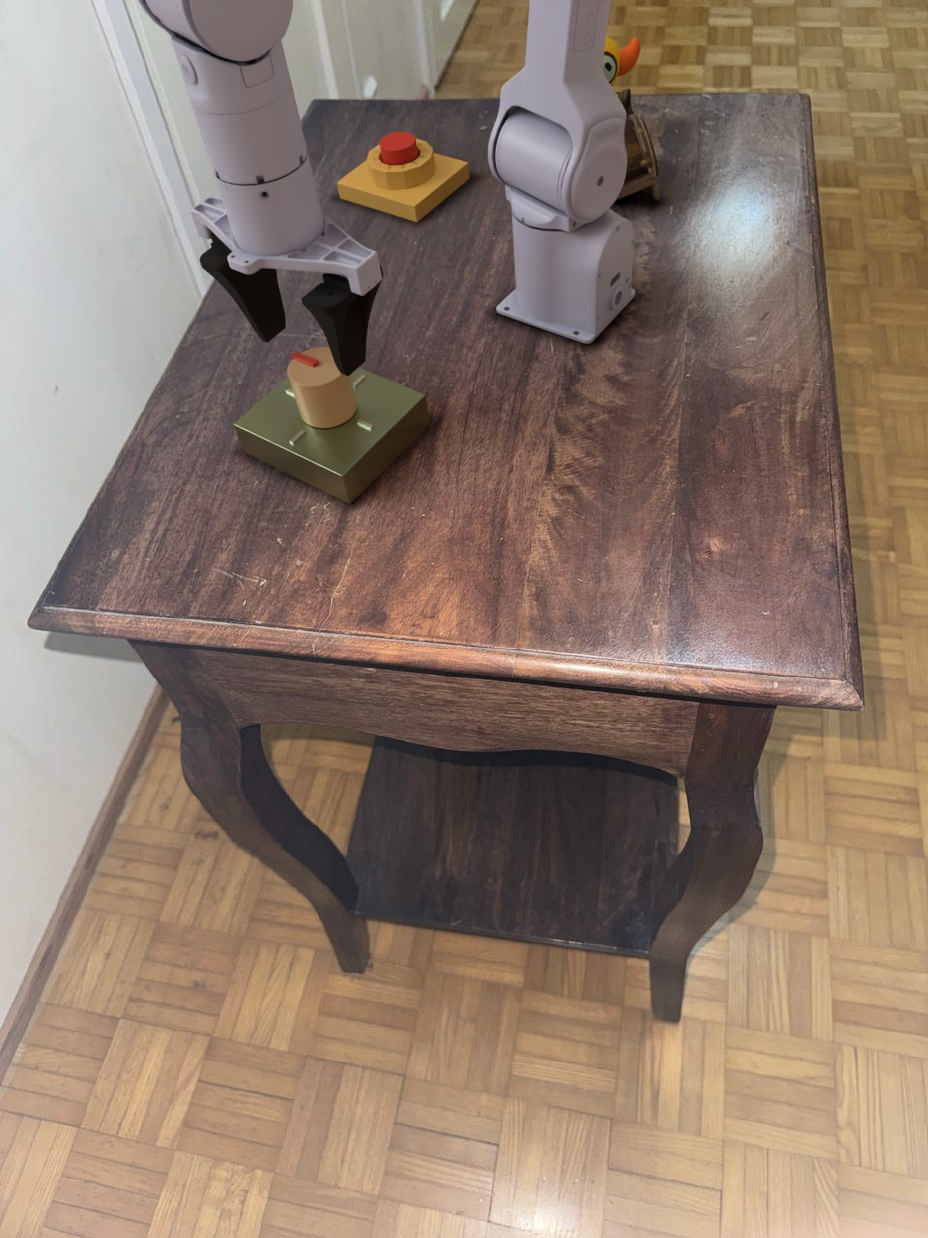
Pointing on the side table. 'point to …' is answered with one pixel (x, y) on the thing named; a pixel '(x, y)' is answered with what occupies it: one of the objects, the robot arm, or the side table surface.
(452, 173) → the housing
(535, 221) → the robot arm
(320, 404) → the knob
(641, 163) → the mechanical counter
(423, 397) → the panel
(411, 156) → the button
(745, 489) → the side table surface
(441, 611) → the side table surface
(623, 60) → the duckling
